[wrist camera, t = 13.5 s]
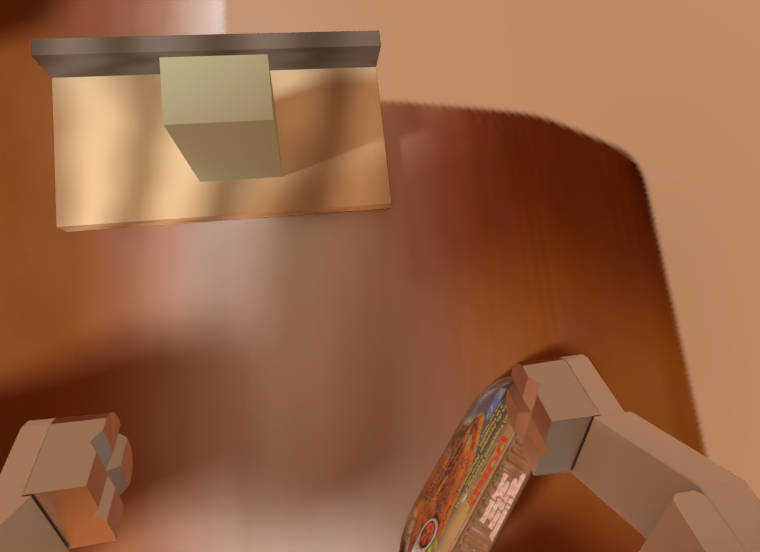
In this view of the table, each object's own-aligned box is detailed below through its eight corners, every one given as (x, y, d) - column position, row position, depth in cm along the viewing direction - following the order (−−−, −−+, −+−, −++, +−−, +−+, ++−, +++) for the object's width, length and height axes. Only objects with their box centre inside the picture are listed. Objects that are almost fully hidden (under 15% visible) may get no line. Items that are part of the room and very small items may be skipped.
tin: (489, 371, 42) (533, 376, 33) (522, 393, 42) (575, 403, 33) (387, 548, 39) (408, 601, 30) (423, 571, 39) (454, 630, 31)
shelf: (66, 231, 39) (35, 216, 34) (61, 65, 41) (30, 30, 36) (388, 208, 42) (397, 191, 38) (371, 56, 44) (378, 23, 40)
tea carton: (282, 177, 40) (273, 119, 30) (200, 182, 39) (163, 125, 29) (277, 123, 41) (267, 50, 31) (196, 127, 40) (159, 53, 30)
